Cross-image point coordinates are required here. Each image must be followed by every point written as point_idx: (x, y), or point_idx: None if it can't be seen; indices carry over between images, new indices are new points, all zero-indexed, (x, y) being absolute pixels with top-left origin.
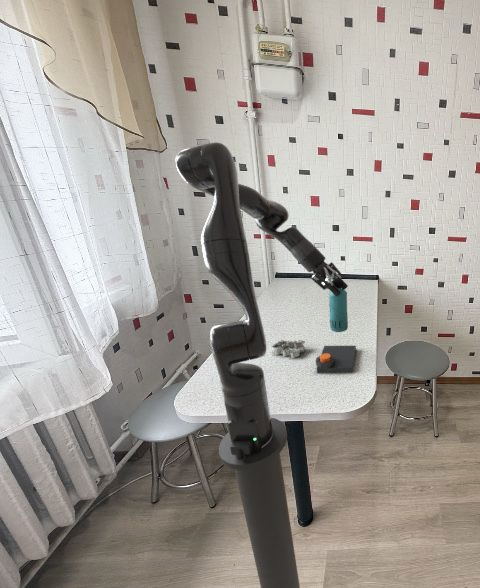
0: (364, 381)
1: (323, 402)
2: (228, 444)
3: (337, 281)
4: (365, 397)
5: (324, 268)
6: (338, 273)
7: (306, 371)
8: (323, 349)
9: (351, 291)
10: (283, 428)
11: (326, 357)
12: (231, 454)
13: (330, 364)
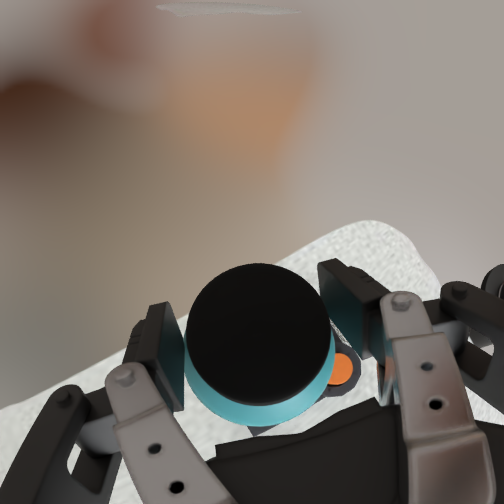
0: (321, 253)
1: (417, 285)
2: None
3: (282, 312)
4: (360, 225)
5: (477, 494)
6: (77, 420)
7: (364, 400)
8: (274, 425)
9: None
10: (488, 286)
11: (342, 359)
12: None
13: (342, 343)
